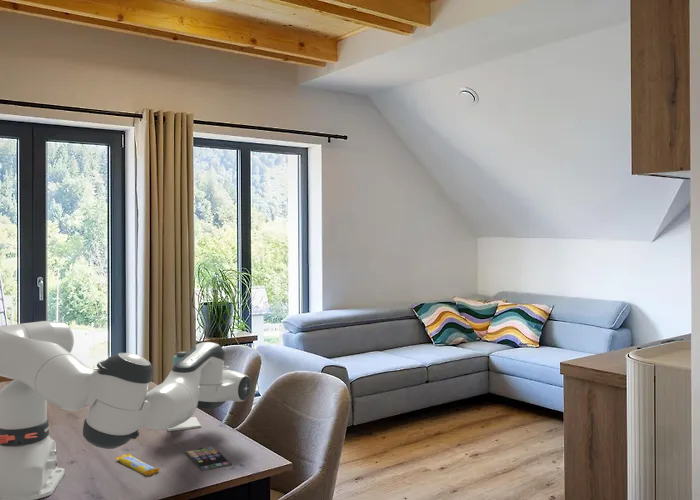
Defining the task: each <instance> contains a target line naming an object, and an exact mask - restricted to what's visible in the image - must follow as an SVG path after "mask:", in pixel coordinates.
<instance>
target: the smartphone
mask: <svg viewBox="0 0 700 500" xmlns="http://www.w3.org/2000/svg"><path fill="white" fill-rule="evenodd" d="M184 453H185V455H186V456H187V457H188V458H189V459H190V460H191V461H192V462H193V463H194V464H195V465H196V466H197V467H198V468H199V469H200V470H201V471H202V472H204V471H209V470H214V469H219V468H224V467H228V466H232V465H233V463H231V462H230V461H229V460H228V459H227V458H226V457H225V456H224V455H223V454H222V453H221V452H220V451H218V449H217V448H216V447H215V446H207V447H200V448H196V449H191V450H187V451H185V452H184Z"/></svg>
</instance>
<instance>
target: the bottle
mask: <svg viewBox="0 0 700 500" xmlns="http://www.w3.org/2000/svg"><path fill="white" fill-rule="evenodd" d="M187 354H188V351H178V352H176V355H174V356H173V358H172V359H173V363H172V364H173V367H174V365H175V364H176V363H177V362H178V361H179V360H180V359H181V358H183V357H184V356H185V355H187ZM173 367H172V368H173Z"/></svg>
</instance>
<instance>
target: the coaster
mask: <svg viewBox="0 0 700 500" xmlns="http://www.w3.org/2000/svg"><path fill="white" fill-rule="evenodd" d="M201 427H202V425H201V424H200V422H199V420H198V419H197V417H196V416H191V417H190V418H189V419H188V420H187V421H185V422H183V423H182V424H180V425H178V426H176V427H173V428H170V429H166V430H167V432H173V431H181V430H182V431H183V430H190V429H200V428H201Z"/></svg>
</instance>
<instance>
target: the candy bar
mask: <svg viewBox="0 0 700 500" xmlns="http://www.w3.org/2000/svg"><path fill="white" fill-rule="evenodd" d="M115 460H117V461H119V463H121V464H122V465H124V466H126V467H128V468H131V469H132V470H134V471H136V472H138V473H140V474H142V475H144V476H148V477H149V476H152V475H153V474H156V473H158V472H160V467H157V468H156V467H154V466H152V465H149V464H148V463H146V462H143V461H141V460H140V459H138V458H136V457H135V456H133V455H132V454H131V453H125V454H122V455H119V456H117V457H116V456H115Z"/></svg>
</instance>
